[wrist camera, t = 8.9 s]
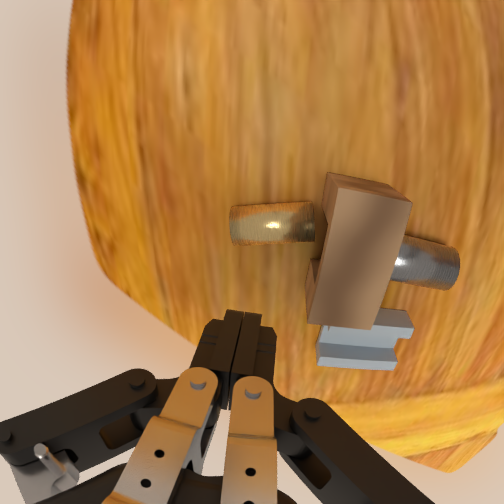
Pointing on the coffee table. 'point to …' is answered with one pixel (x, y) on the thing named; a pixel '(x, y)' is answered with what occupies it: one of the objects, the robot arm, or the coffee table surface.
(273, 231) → the cylinder
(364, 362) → the cradle
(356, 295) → the beam
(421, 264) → the axle
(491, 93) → the coffee table surface
